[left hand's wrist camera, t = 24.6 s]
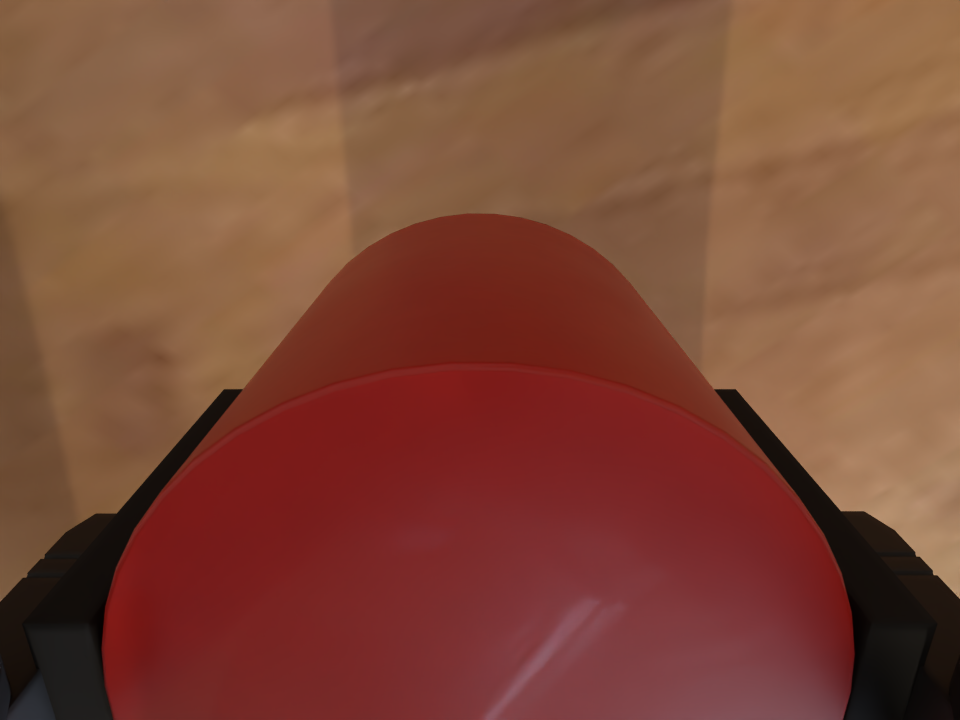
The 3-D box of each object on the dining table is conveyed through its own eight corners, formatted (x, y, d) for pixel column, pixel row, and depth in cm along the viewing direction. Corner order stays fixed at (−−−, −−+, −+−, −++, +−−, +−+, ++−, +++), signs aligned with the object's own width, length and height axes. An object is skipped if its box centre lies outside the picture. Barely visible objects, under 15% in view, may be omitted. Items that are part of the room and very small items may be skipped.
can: (739, 321, 16) (1028, 574, 7) (551, 597, 18) (608, 999, 10) (384, 138, 14) (249, 199, 6) (242, 470, 17) (20, 819, 9)
